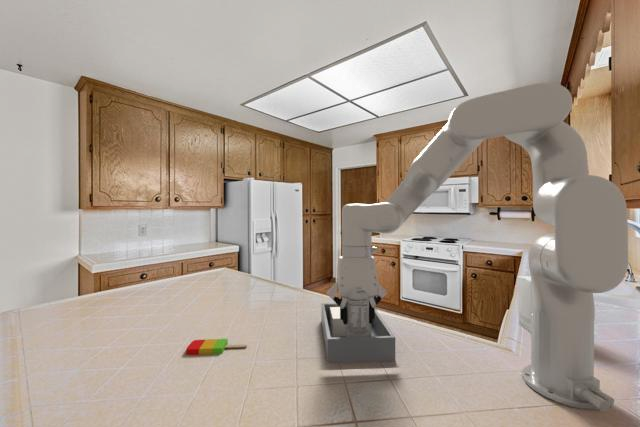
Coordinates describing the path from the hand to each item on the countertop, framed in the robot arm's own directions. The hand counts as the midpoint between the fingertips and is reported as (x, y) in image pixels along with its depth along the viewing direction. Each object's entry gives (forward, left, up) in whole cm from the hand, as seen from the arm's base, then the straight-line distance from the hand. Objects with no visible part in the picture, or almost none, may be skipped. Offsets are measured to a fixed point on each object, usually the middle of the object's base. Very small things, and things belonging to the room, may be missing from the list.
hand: (357, 321), depth 70 cm
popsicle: (+4, +36, -9) cm, 38 cm away
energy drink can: (0, 0, -6) cm, 6 cm away
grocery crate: (+6, 0, -8) cm, 10 cm away
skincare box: (+10, -57, -8) cm, 58 cm away
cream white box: (+11, 0, -7) cm, 13 cm away
